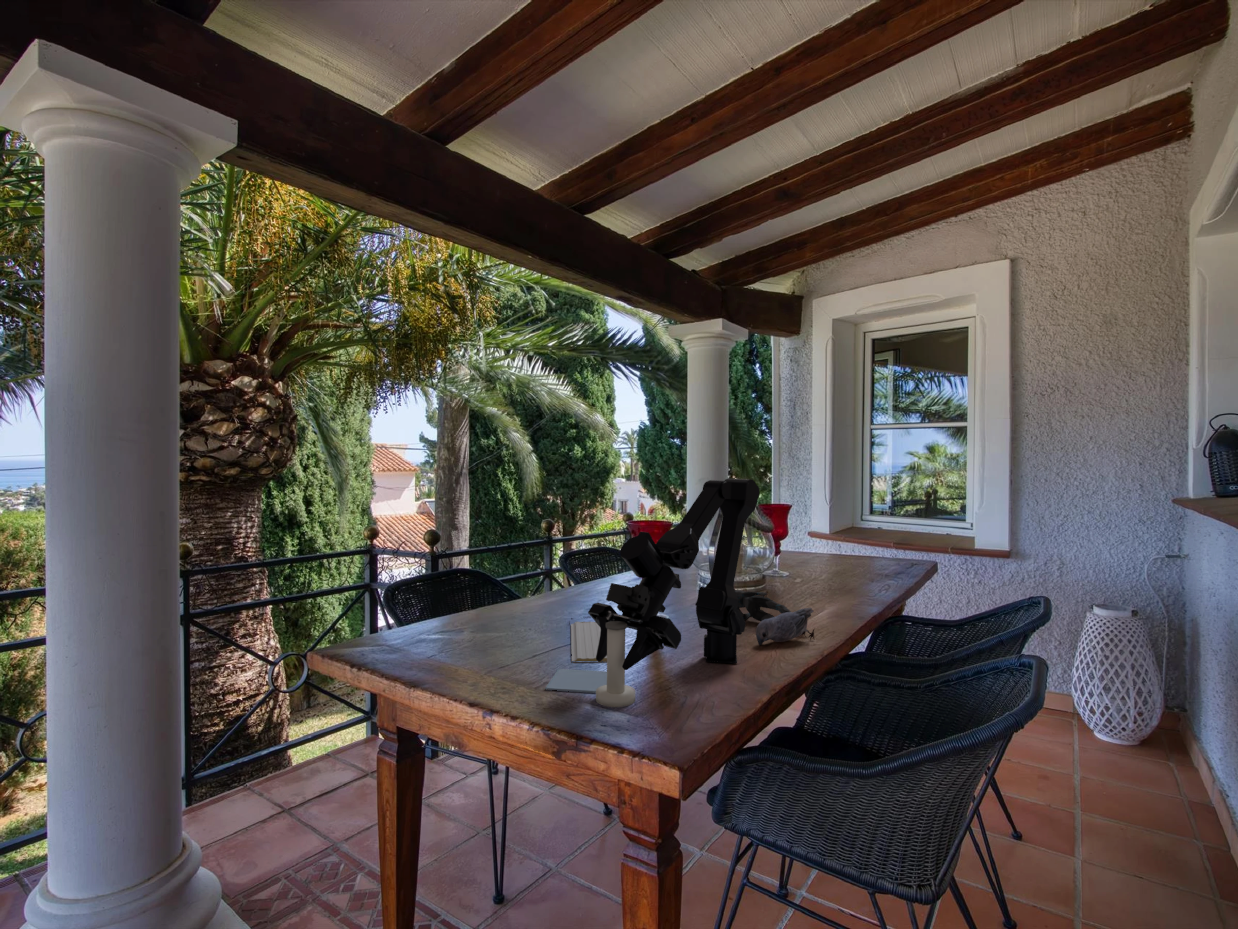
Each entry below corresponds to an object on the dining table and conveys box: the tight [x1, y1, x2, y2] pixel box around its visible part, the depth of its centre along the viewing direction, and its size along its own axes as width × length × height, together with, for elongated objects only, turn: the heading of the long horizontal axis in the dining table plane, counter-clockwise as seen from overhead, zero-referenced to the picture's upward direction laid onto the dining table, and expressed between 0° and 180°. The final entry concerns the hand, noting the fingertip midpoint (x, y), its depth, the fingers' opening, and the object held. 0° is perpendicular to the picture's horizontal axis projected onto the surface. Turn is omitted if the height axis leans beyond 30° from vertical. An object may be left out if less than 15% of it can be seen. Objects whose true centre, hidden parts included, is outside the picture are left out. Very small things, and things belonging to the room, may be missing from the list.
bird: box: [755, 607, 815, 646], centre depth 155 cm, size 5×16×8 cm, turn 118°
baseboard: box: [568, 615, 607, 663], centre depth 153 cm, size 30×3×10 cm
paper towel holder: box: [595, 621, 636, 708], centre depth 117 cm, size 7×7×14 cm
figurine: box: [735, 589, 812, 634], centre depth 174 cm, size 11×9×30 cm
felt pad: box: [544, 668, 607, 694], centre depth 126 cm, size 11×11×1 cm
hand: (610, 664), depth 116 cm, fingers open, 6 cm apart
